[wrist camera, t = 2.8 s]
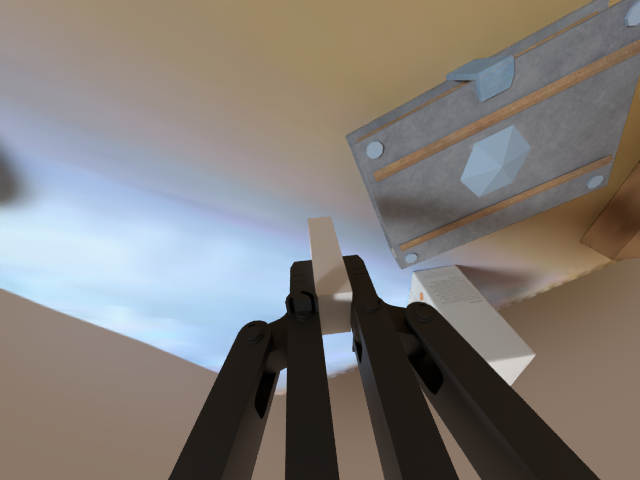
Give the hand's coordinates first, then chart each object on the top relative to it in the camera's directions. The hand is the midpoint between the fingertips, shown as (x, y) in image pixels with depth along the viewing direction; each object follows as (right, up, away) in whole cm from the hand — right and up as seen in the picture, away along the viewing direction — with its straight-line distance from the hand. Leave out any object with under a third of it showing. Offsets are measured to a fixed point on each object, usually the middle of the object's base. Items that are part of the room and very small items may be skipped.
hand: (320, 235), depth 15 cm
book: (+15, +8, +8) cm, 19 cm away
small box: (+16, -7, +19) cm, 26 cm away
